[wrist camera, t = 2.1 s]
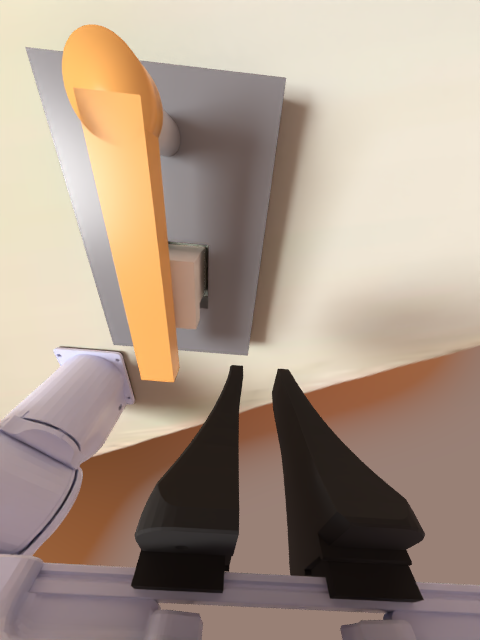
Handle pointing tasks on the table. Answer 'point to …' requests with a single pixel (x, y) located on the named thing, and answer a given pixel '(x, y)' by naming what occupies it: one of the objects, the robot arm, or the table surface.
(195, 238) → the socket block
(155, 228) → the orange paddle handle
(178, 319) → the plug
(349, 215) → the table surface
